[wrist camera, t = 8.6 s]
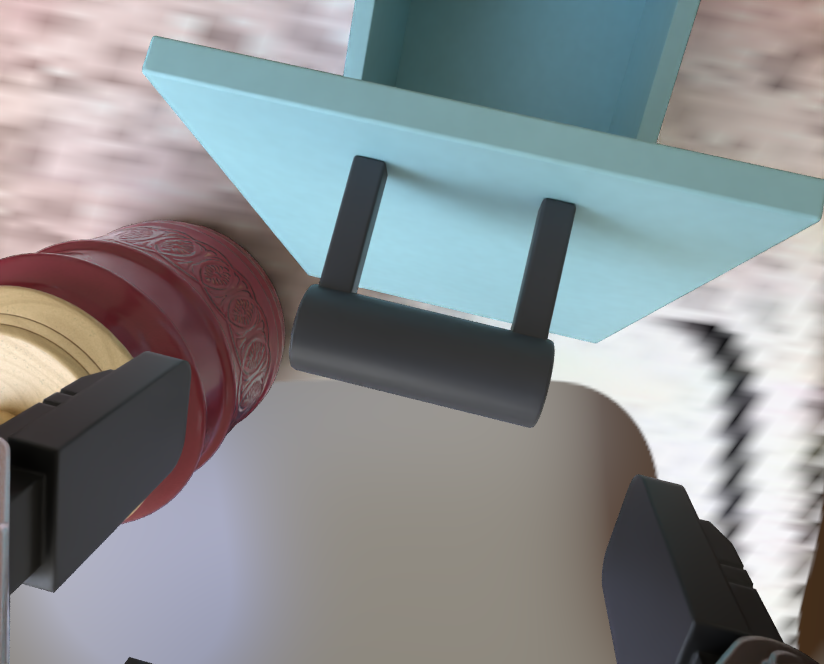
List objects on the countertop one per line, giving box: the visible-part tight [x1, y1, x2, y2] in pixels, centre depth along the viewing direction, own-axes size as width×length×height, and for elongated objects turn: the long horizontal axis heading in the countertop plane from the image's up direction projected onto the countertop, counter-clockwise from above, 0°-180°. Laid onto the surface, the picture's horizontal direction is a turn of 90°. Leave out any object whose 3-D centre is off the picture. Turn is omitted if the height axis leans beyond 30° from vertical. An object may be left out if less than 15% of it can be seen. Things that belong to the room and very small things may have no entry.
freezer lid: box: [142, 36, 824, 428], centre depth 20 cm, size 16×13×5 cm
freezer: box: [343, 0, 701, 143], centre depth 30 cm, size 16×13×9 cm
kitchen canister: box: [0, 220, 285, 524], centre depth 32 cm, size 13×13×18 cm
